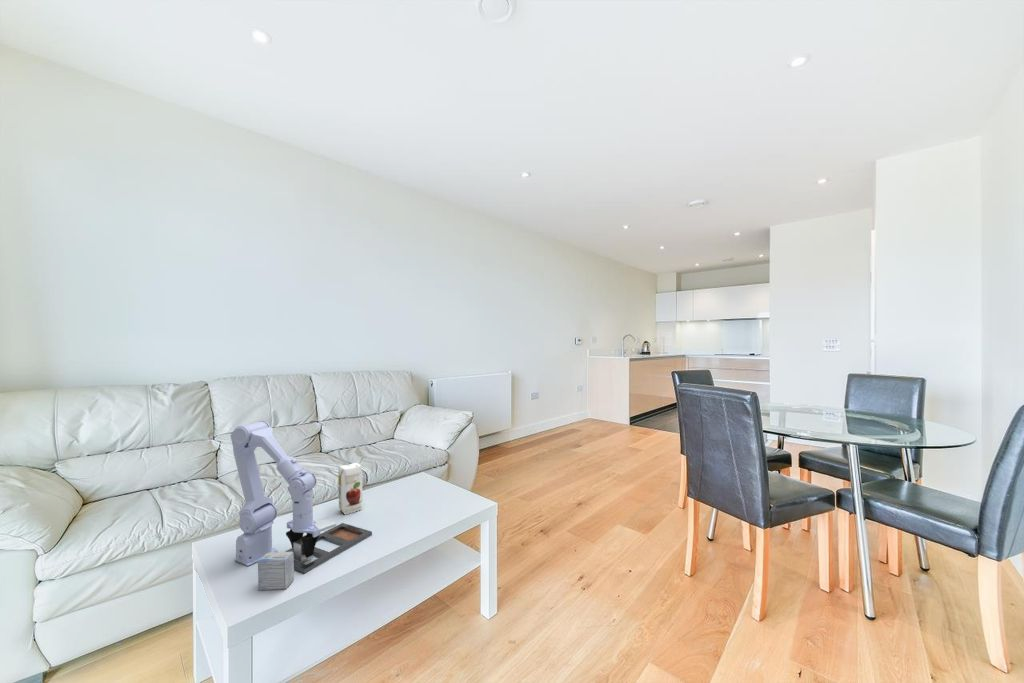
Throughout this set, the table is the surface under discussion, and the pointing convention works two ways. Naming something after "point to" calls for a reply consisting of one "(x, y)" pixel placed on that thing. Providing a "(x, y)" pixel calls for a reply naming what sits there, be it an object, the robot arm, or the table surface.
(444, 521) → the table surface
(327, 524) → the hard drive
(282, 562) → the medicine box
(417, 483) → the table surface
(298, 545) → the grey metal block
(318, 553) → the grey window frame
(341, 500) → the juice carton
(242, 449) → the robot arm
